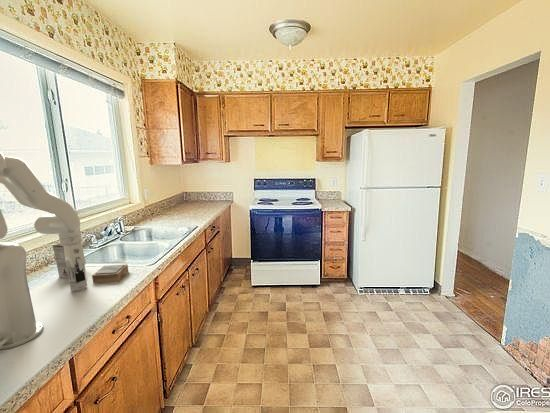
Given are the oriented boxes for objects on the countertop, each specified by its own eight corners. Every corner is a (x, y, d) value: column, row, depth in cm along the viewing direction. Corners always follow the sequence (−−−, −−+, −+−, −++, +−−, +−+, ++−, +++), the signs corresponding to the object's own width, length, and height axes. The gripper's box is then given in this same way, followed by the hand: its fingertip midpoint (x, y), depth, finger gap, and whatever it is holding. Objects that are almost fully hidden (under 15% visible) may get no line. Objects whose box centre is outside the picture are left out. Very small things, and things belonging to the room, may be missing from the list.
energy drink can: (67, 291, 119) (61, 258, 116) (79, 285, 124) (74, 253, 122) (78, 293, 117) (73, 259, 114) (90, 286, 123) (85, 254, 120)
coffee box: (75, 269, 142) (70, 239, 139) (85, 270, 141) (80, 240, 138) (58, 277, 133) (52, 245, 130) (69, 278, 132) (63, 246, 129)
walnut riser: (118, 282, 127) (117, 273, 126) (93, 283, 126) (91, 274, 125) (128, 271, 138) (127, 263, 137) (105, 273, 136) (103, 265, 136)
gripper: (88, 241, 114) (94, 280, 117) (74, 234, 125) (80, 270, 128) (66, 246, 108) (74, 287, 112) (54, 238, 119) (61, 276, 123)
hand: (77, 278), depth 120 cm, fingers open, 7 cm apart
